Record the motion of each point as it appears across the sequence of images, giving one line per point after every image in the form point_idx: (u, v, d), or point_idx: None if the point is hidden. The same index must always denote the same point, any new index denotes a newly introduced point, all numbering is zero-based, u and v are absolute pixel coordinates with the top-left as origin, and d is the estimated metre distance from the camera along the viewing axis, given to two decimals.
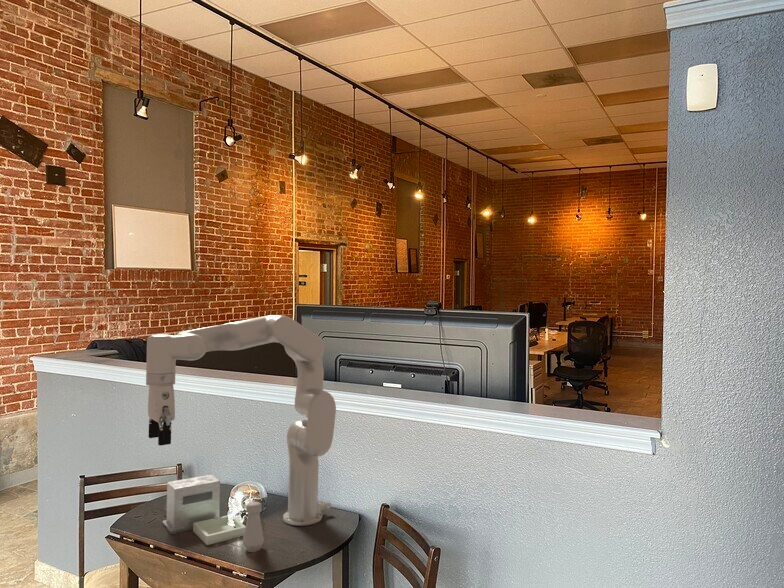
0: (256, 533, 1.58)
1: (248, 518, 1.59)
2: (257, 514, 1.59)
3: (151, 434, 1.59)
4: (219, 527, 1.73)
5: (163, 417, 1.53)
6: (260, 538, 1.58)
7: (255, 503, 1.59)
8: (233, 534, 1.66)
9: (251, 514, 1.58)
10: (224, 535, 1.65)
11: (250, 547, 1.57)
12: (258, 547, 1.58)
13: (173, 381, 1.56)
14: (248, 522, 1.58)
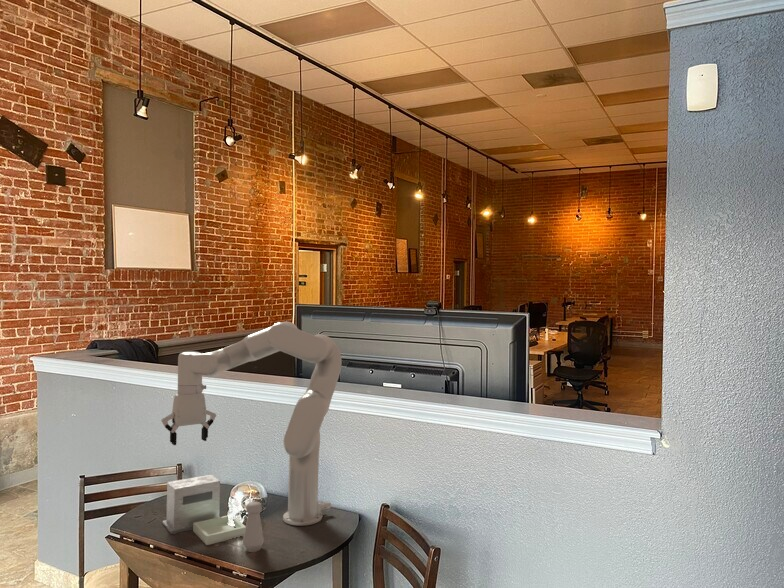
0: (256, 533, 1.58)
1: (248, 518, 1.59)
2: (257, 514, 1.59)
3: (175, 441, 1.81)
4: (219, 527, 1.73)
5: None
6: (260, 538, 1.58)
7: (255, 503, 1.59)
8: (233, 534, 1.66)
9: (251, 514, 1.58)
10: (224, 535, 1.65)
11: (250, 547, 1.57)
12: (258, 547, 1.58)
13: None
14: (248, 522, 1.58)
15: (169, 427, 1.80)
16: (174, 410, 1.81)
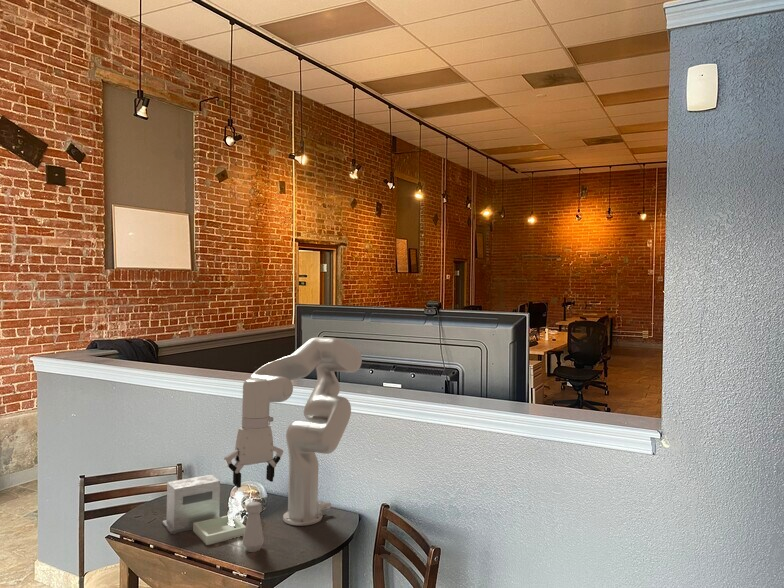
0: (256, 533, 1.58)
1: (248, 518, 1.59)
2: (257, 514, 1.59)
3: None
4: (219, 527, 1.73)
5: None
6: (260, 538, 1.58)
7: (255, 503, 1.59)
8: (233, 534, 1.66)
9: (251, 514, 1.58)
10: (224, 535, 1.65)
11: (250, 547, 1.57)
12: (258, 547, 1.58)
13: None
14: (248, 522, 1.58)
15: (233, 467, 1.55)
16: (238, 447, 1.56)
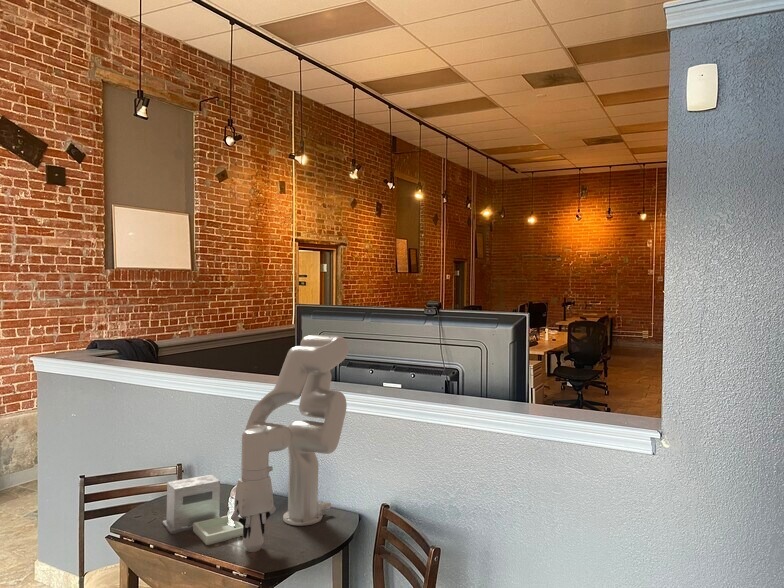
0: (256, 533, 1.58)
1: None
2: (257, 514, 1.59)
3: None
4: (219, 527, 1.73)
5: None
6: (260, 538, 1.58)
7: None
8: (233, 534, 1.66)
9: None
10: (224, 535, 1.65)
11: (250, 547, 1.57)
12: (258, 547, 1.58)
13: None
14: None
15: (243, 521, 1.57)
16: (238, 498, 1.56)
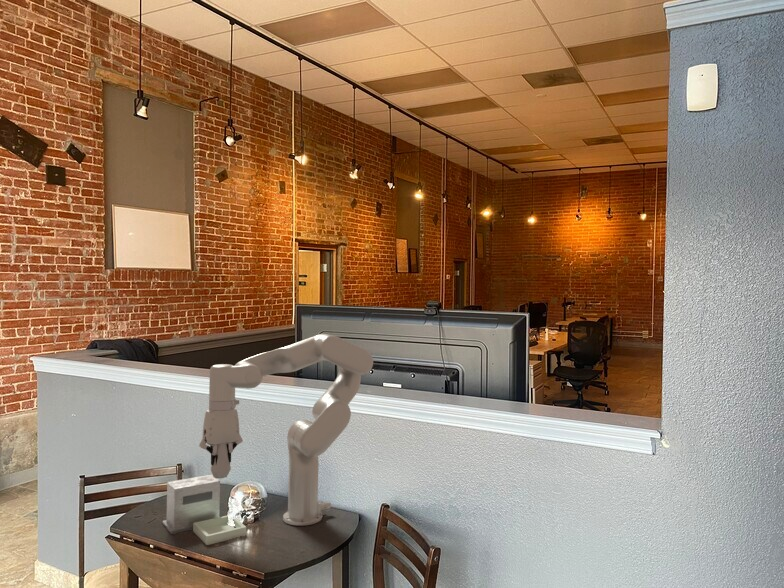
0: (222, 461, 1.68)
1: None
2: (224, 443, 1.69)
3: None
4: (219, 527, 1.73)
5: None
6: (226, 465, 1.69)
7: None
8: (233, 534, 1.66)
9: None
10: (224, 535, 1.65)
11: (217, 473, 1.67)
12: (225, 474, 1.69)
13: None
14: None
15: (210, 449, 1.68)
16: (206, 428, 1.67)
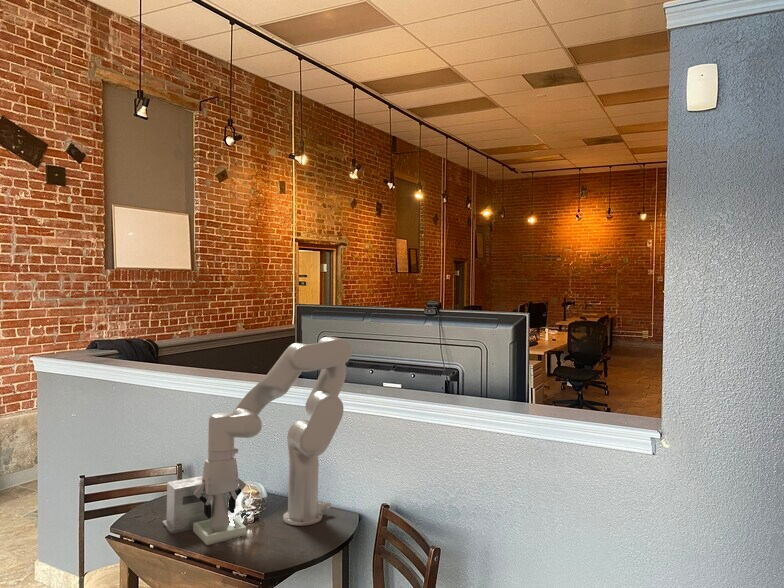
0: (221, 515, 1.68)
1: (213, 502, 1.69)
2: (221, 497, 1.69)
3: (210, 514, 1.67)
4: None
5: None
6: (225, 519, 1.69)
7: None
8: (233, 534, 1.66)
9: (215, 498, 1.69)
10: (224, 535, 1.65)
11: (216, 528, 1.67)
12: (224, 528, 1.68)
13: None
14: (213, 506, 1.69)
15: (203, 499, 1.66)
16: (204, 478, 1.67)
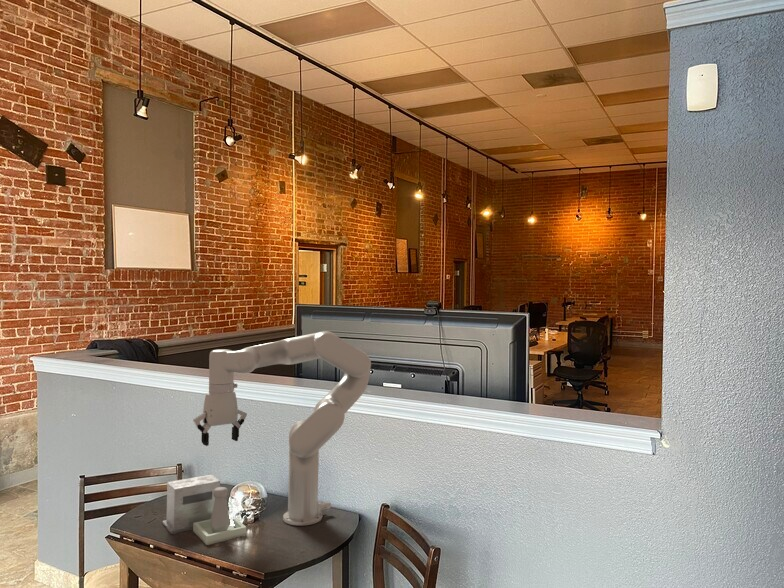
0: (222, 516, 1.68)
1: (215, 502, 1.69)
2: (223, 498, 1.69)
3: None
4: None
5: None
6: (226, 521, 1.69)
7: (222, 488, 1.70)
8: (233, 534, 1.66)
9: (218, 498, 1.69)
10: (224, 535, 1.65)
11: (216, 529, 1.67)
12: (224, 529, 1.68)
13: None
14: (214, 506, 1.69)
15: (201, 427, 1.74)
16: (206, 410, 1.75)
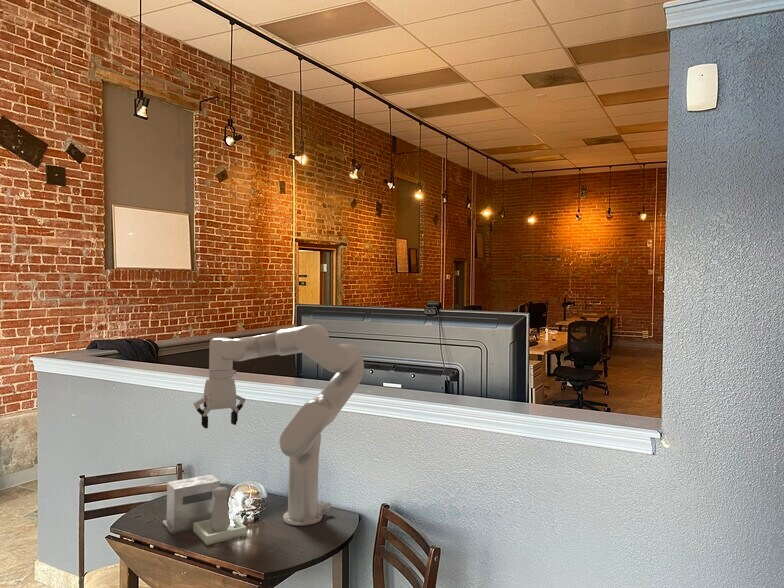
0: (222, 516, 1.68)
1: (215, 502, 1.69)
2: (223, 498, 1.69)
3: None
4: None
5: None
6: (226, 521, 1.69)
7: (222, 488, 1.70)
8: (233, 534, 1.66)
9: (218, 498, 1.69)
10: (224, 535, 1.65)
11: (216, 529, 1.67)
12: (224, 529, 1.68)
13: None
14: (214, 506, 1.69)
15: (201, 411, 1.84)
16: (206, 394, 1.85)
